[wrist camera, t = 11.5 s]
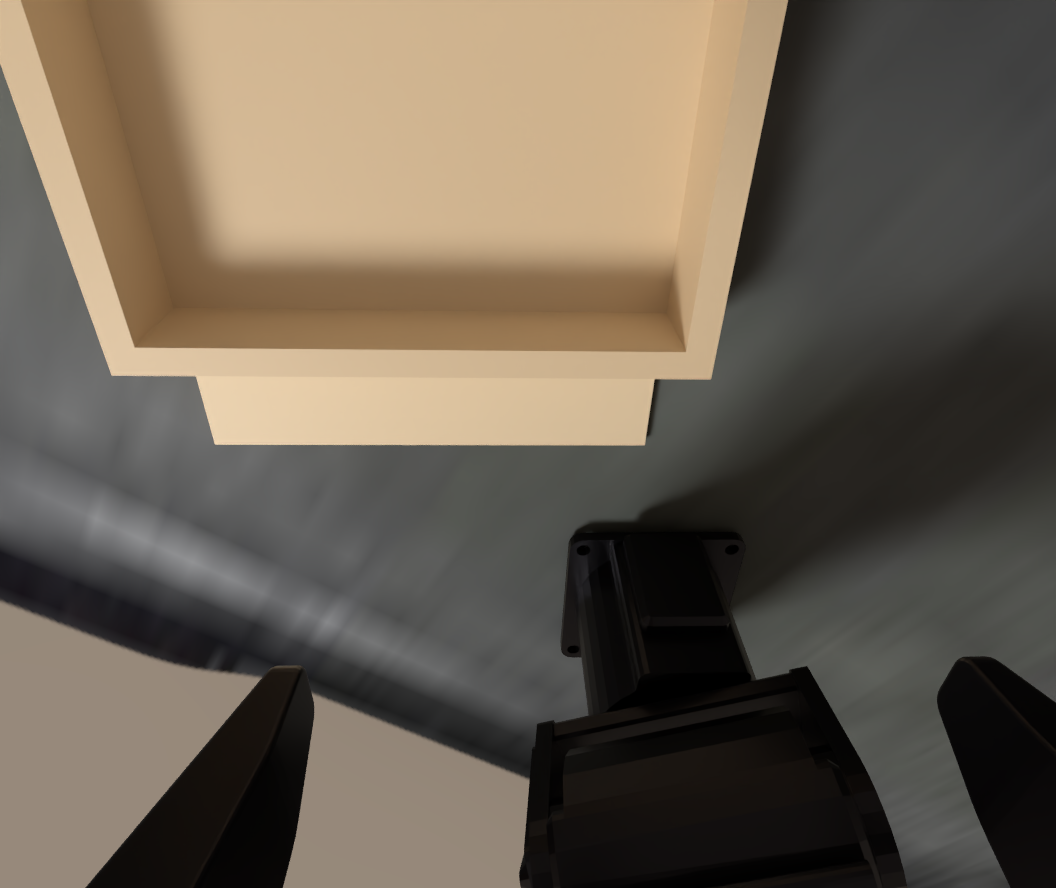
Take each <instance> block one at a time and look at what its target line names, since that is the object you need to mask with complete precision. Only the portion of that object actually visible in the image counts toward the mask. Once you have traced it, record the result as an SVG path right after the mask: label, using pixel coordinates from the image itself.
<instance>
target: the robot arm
mask: <svg viewBox="0 0 1056 888" xmlns="http://www.w3.org/2000/svg"><path fill="white" fill-rule="evenodd" d="M733 544H734V545H733ZM582 545H585V546H587V547H585V548H578V547H579V546H582ZM729 545H733V546H732V547H728V546H729ZM744 553H745V544H744V541H743V539H742V537H741V536H740V535H739V534H737V533H734V532H656V533H579V534H576V535H574V536H573V537H572V538H571V539H570V541H569V546H568V558H567V570H566V582H565V594H564V606H563V618H562V630H561V650H562V653H563V654H564V655H565V656H567V657H582V665H583V674H584V682H585V690H586V698H587V706H588V714H589V716H585V717H580V718H576V719H571V720H566V721H562V722H557V723H555V722H554V720H553V721H548V722H543V723H539V724H537V732H536V744H535V747H533V749H532V759H531V771H530V784H529V796H528V808H527V821H526V832H525V844H524V856H523V859H522V863H521V867H520V872H519V878H520V885H521V888H907V884H906V879H905V875H904V870H903V866H902V863H901V859H900V855H899V852H898V849H897V846H896V843H895V840H894V836H893V833H892V830H891V828H890V825H889V822H888V820H887V817H886V814H885V812H884V809H883V807H882V804H881V802H880V799H879V797H878V795H877V792H876V790H875V788H874V785H873V783H872V781H871V779H870V777H869V775H868V772H867V771H866V769H865V767H864V765H863V763H862V761H861V759H860V757H859V756H858V754H857V752H856V750H855V749H854V747H853V745H852V743H851V742H850V740H849V738H848V737H847V735H846V733H845V731H844V730H843V728H842V726H841V724H840V723H839V721H838V719H837V717H836V716H835V714H834V712H833V710H832V709H831V707H830V705H829V703H828V702H827V700H826V698H825V696H824V695H823V693H822V691H821V689H820V688H819V686H818V684H817V683H816V681H815V679H814V677H813V676H812V674H811V672H810V670H809V669H808V667H807V666H805V667H800V668H796V669H791V670H789V673H787V674H782V675H777V676H773V677H768V678H763V679H759V680H756V677H755V675H754V672H753V669H752V667H751V664H750V661H749V658H748V656H747V653H746V650H745V648H744V645H743V642H742V639H741V637H740V634H739V631H738V629H737V626H736V623H735V620H734V618H733V615H732V612H731V610H730V607H729V606H730V602H731V599H732V595H733V592H734V588H735V585H736V581H737V578H738V574H739V570H740V567H741V563H742V560H743V556H744ZM572 645H573V646H572ZM937 704H938V709H939V712H940V715H941V718H942V721H943V723H944V726H945V729H946V732H947V735H948V737H949V740H950V743H951V746H952V748H953V751H954V754H955V757H956V759H957V762H958V765H959V768H960V771H961V773H962V776H963V779H964V782H965V784H966V787H967V790H968V793H969V795H970V798H971V801H972V804H973V806H974V809H975V811H976V814H977V816H978V819H979V821H980V823H981V825H982V828H983V830H984V832H985V834H986V837H987V839H988V841H989V843H990V845H991V847H992V849H993V852H994V854H995V856H996V858H997V860H998V862H999V864H1000V866H1001V869H1002V871H1003V873H1004V875H1005V877H1006V879H1007V881H1008V883H1009V885H1010V888H1056V702H1054V701H1053V700H1051V699H1050V698H1049V697H1047V696H1046V695H1045V694H1043V693H1042V692H1040V691H1039V690H1038V689H1036V688H1035V687H1034V686H1032V685H1031V684H1029V683H1028V682H1027V681H1025V680H1024V679H1023V678H1021V677H1020V676H1018V675H1017V674H1016V673H1014V672H1013V671H1012V670H1010V669H1009V668H1007V667H1006V666H1005V665H1003V664H1002V663H1000V662H999V661H997V660H996V659H993V658H991V657H985V656H980V657H962V658H960V659H958V660H957V661H956V662H955V664H954V666H953V667H952V669H951V671H950V672H949V674H948V676H947V677H946V679H945V681H944V682H943V684H942V686H941V687H940V689H939V691H938V695H937ZM313 720H314V702H313V697H312V693H311V689H310V685H309V681H308V677H307V673H306V670H305V669H304V667H302V666H299V665H295V666H275V667H273V668H271V669H270V670H269V671H268V672H267V673H266V674H265V675H264V676H263V678H262V679H261V680H260V681H259V682H258V683H257V685H256V686H255V687H254V689H252V691H251V692H250V693H249V694H248V695H247V697H246V698H245V699H244V700H243V701H242V702H241V704H240V705H239V706H238V707H237V708H236V710H235V711H234V712H233V713H232V714H231V716H230V717H229V718H228V719H227V720H226V721H225V723H224V724H223V725H222V726H221V728H220V729H219V730H218V731H217V732H216V733H215V735H214V736H213V737H212V738H211V739H210V741H209V742H208V743H207V744H206V745H205V747H204V748H203V749H202V750H201V751H200V752H199V754H198V755H197V756H196V757H195V758H194V760H193V761H192V762H191V763H190V764H189V766H188V767H187V768H186V769H185V770H184V771H183V773H182V774H181V775H180V776H179V777H178V779H177V780H176V781H175V782H174V783H173V784H172V786H171V787H170V788H169V789H168V790H167V792H166V793H165V794H164V795H163V796H162V797H161V799H160V800H159V801H158V802H157V803H156V805H155V806H154V807H153V808H152V809H151V811H150V812H149V813H148V814H147V815H146V817H145V818H144V819H143V820H142V821H141V822H140V824H139V825H138V826H137V827H136V828H135V830H134V831H133V832H132V833H131V834H130V836H129V837H128V838H127V839H126V840H125V841H124V843H123V844H122V845H121V846H120V847H119V849H118V850H117V851H116V852H115V853H114V854H113V856H112V857H111V858H110V859H109V860H108V862H107V863H106V864H105V865H104V866H103V868H102V869H101V870H100V871H99V872H98V873H97V875H96V876H95V877H94V878H93V879H92V881H91V882H90V883H89V884H88V886H87V887H86V888H283V885H284V881H285V877H286V873H287V869H288V865H289V861H290V858H291V854H292V850H293V845H294V841H295V837H296V831H297V825H298V819H299V813H300V806H301V799H302V794H303V787H304V780H305V774H306V767H307V760H308V754H309V747H310V740H311V734H312V727H313Z"/></svg>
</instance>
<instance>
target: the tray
mask: <svg viewBox="0 0 1056 888" xmlns="http://www.w3.org/2000/svg"><path fill="white" fill-rule="evenodd" d="M787 3H788V0H0V64H1V67H2V70H3V73H4V76H5V78H6V81H7V84H8V87H9V89H10V92H11V95H12V98H13V101H14V103H15V106H16V109H17V112H18V115H19V117H20V120H21V123H22V126H23V129H24V131H25V134H26V137H27V140H28V143H29V145H30V148H31V151H32V154H33V157H34V159H35V162H36V165H37V168H38V171H39V173H40V176H41V179H42V182H43V185H44V187H45V190H46V193H47V196H48V199H49V201H50V204H51V207H52V210H53V212H54V215H55V218H56V221H57V224H58V226H59V229H60V232H61V235H62V238H63V240H64V243H65V246H66V249H67V252H68V254H69V257H70V260H71V263H72V266H73V268H74V271H75V274H76V277H77V280H78V282H79V285H80V288H81V291H82V294H83V296H84V299H85V302H86V305H87V308H88V310H89V313H90V316H91V319H92V322H93V324H94V327H95V330H96V333H97V336H98V338H99V341H100V344H101V347H102V349H103V352H104V355H105V358H106V361H107V363H108V366H109V369H110V372H111V375H112V376H196V378H197V381H198V385H199V389H200V392H201V396H202V399H203V403H204V407H205V410H206V414H207V417H208V421H209V424H210V428H211V432H212V435H213V439H214V442H215V445H645V440H646V433H647V426H648V420H649V413H650V407H651V400H652V393H653V387H654V380H655V379H711V376H712V371H713V366H714V362H715V357H716V352H717V347H718V342H719V337H720V332H721V327H722V322H723V317H724V312H725V308H726V303H727V298H728V293H729V288H730V283H731V278H732V273H733V268H734V263H735V258H736V254H737V249H738V244H739V239H740V234H741V229H742V224H743V219H744V214H745V209H746V204H747V200H748V195H749V190H750V185H751V180H752V175H753V170H754V165H755V160H756V155H757V151H758V146H759V141H760V136H761V131H762V126H763V121H764V116H765V111H766V106H767V101H768V97H769V92H770V87H771V82H772V77H773V72H774V67H775V62H776V57H777V52H778V47H779V43H780V38H781V33H782V28H783V23H784V18H785V13H786V8H787Z"/></svg>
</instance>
